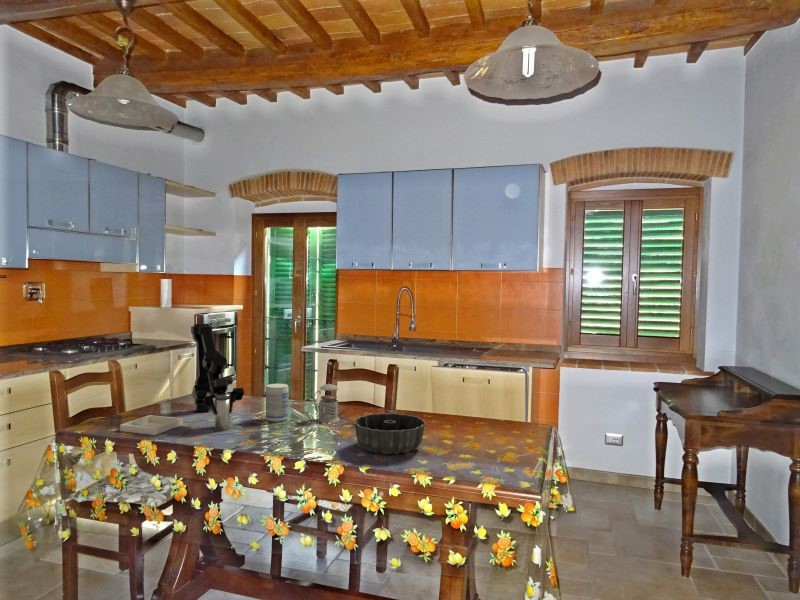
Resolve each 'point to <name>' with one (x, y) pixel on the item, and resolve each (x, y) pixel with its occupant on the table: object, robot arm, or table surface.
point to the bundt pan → (389, 432)
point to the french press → (328, 415)
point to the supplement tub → (276, 402)
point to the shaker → (222, 411)
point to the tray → (152, 425)
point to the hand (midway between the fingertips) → (223, 413)
